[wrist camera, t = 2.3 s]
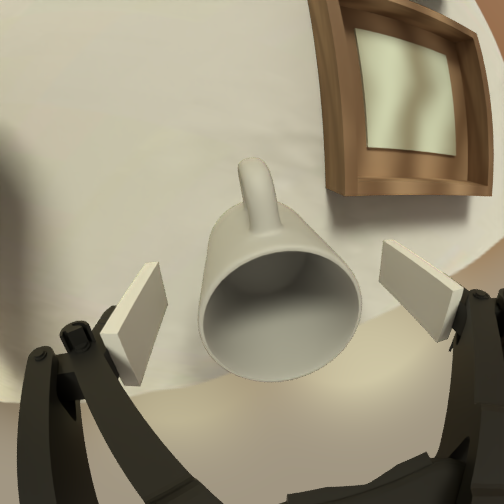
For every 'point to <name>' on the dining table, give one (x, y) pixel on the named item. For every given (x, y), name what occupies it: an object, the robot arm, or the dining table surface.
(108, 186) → the dining table surface
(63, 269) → the dining table surface
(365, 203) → the dining table surface
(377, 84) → the walnut box
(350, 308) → the mug
